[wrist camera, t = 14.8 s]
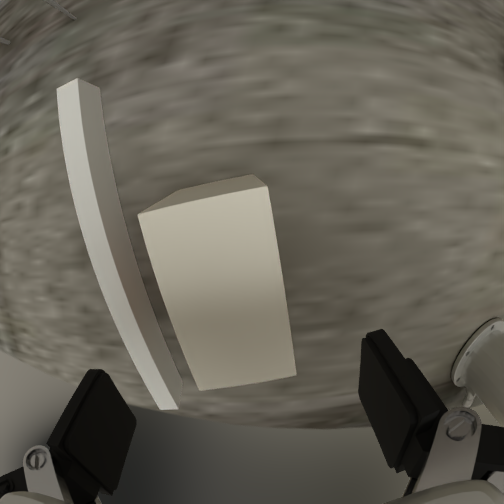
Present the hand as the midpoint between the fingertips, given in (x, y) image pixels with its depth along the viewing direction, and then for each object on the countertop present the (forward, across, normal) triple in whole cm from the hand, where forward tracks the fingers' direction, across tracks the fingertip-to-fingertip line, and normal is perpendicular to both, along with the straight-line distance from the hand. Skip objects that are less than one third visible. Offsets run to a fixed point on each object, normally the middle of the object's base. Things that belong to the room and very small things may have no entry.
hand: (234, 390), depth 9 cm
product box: (+15, +1, -1) cm, 15 cm away
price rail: (+15, +10, -2) cm, 18 cm away
